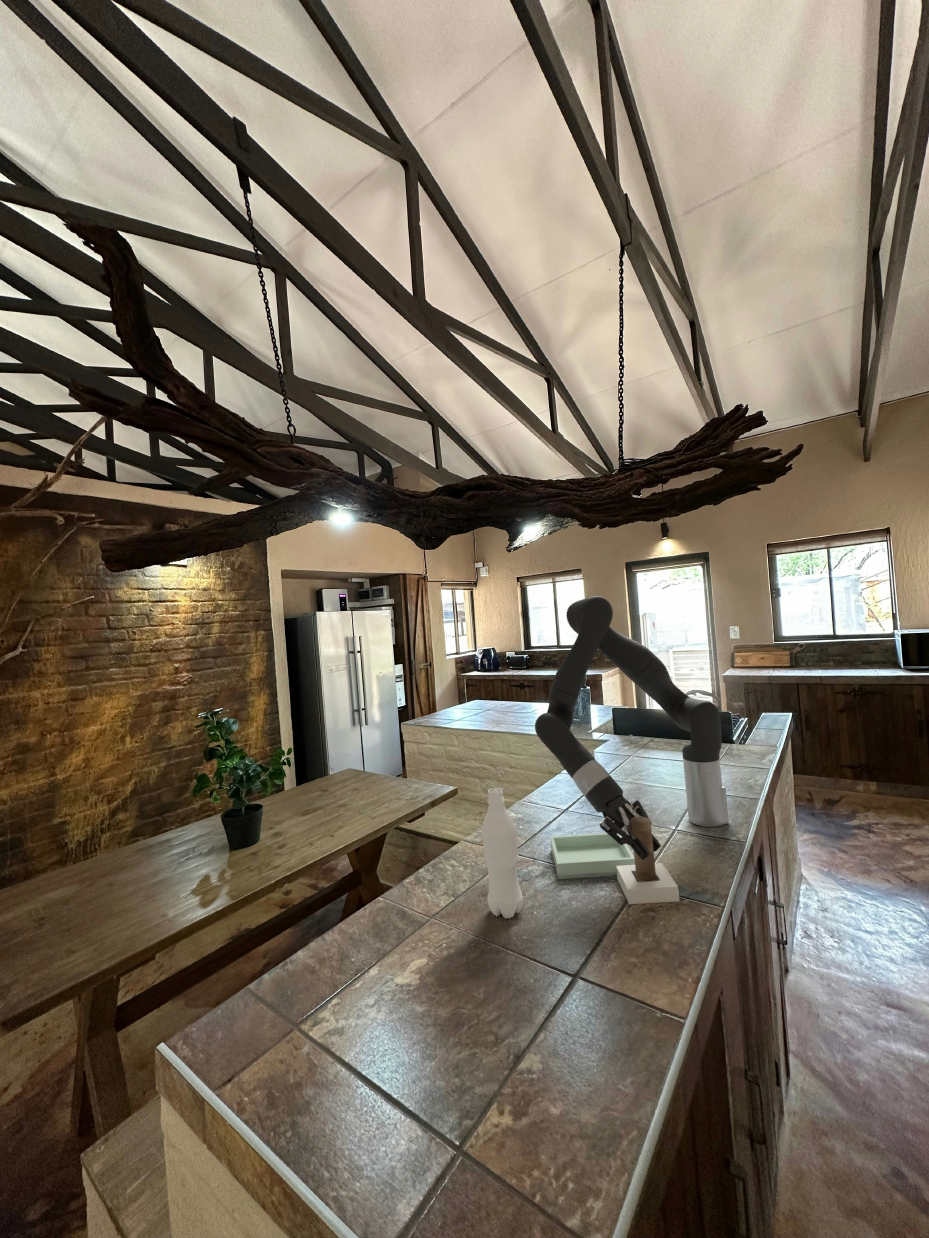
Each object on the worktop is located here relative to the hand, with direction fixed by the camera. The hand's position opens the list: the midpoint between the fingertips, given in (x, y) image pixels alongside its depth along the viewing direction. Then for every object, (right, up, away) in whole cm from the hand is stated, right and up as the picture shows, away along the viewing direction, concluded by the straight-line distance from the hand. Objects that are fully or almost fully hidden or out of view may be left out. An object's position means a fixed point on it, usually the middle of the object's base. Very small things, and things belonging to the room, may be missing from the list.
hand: (652, 852), depth 107 cm
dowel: (-1, -6, +1) cm, 6 cm away
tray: (-9, -9, +16) cm, 20 cm away
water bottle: (-31, -11, -2) cm, 33 cm away
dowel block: (-1, -8, +1) cm, 9 cm away
